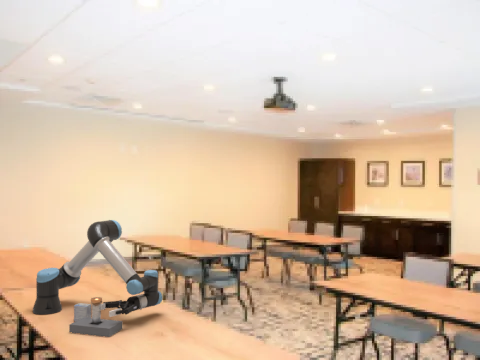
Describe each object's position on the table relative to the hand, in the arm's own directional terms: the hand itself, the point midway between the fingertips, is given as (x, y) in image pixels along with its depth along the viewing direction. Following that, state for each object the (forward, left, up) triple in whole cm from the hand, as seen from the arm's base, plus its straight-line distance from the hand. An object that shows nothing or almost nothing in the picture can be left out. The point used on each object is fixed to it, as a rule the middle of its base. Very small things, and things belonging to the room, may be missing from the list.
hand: (101, 311), depth 219 cm
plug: (-2, -1, -9) cm, 10 cm away
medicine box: (-18, +11, -10) cm, 23 cm away
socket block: (-2, -1, -9) cm, 10 cm away
